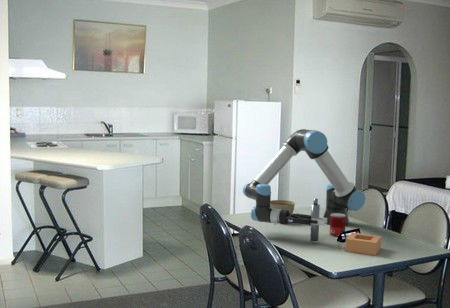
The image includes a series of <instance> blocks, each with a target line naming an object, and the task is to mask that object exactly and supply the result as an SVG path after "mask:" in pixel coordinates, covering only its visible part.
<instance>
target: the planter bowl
mask: <svg viewBox="0 0 450 308" xmlns="http://www.w3.org/2000/svg"><path fill="white" fill-rule="evenodd" d="M295 205H296V202H295V201H292V200H285V199H274V200H273V199H271V201H270V208H274V209H281V210H289V212H290V214H294V210H295Z"/></svg>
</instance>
